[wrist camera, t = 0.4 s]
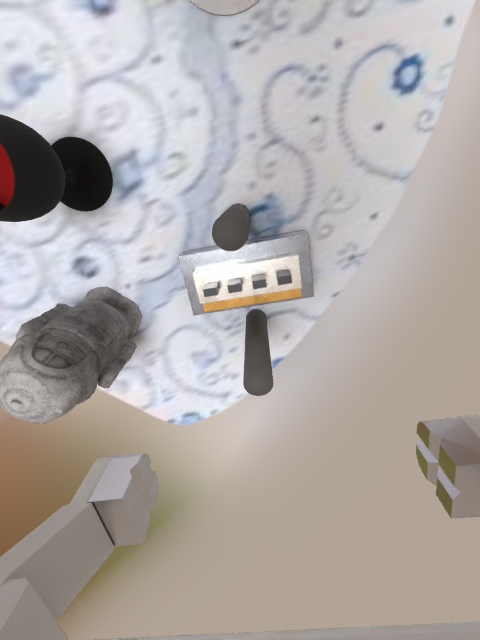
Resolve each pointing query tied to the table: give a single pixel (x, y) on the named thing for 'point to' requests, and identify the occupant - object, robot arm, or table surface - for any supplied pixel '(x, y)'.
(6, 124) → the wine glass
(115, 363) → the figurine
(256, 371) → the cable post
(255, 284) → the breaker paddles
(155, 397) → the table surface
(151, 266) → the table surface
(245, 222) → the disc
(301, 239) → the breaker panel
